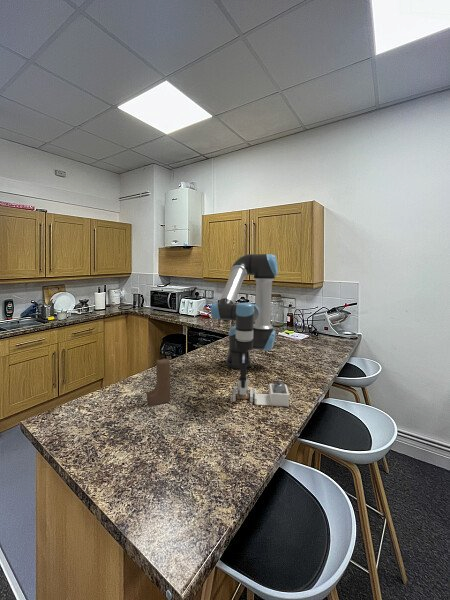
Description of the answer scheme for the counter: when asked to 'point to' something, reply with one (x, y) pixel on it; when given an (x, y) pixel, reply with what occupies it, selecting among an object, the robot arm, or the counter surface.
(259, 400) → the rack
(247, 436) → the counter surface
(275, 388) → the cell
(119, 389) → the counter surface
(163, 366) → the wooden block
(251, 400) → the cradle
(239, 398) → the plate
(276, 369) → the counter surface
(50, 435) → the counter surface
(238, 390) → the cell
